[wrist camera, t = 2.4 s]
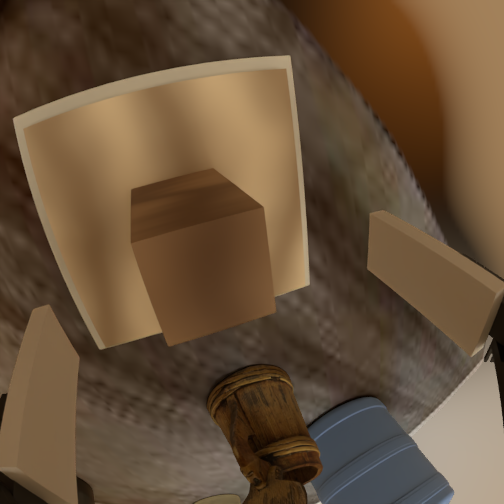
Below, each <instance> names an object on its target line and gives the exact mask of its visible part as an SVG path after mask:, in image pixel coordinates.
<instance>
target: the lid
mask: <svg viewBox="0 0 504 504" xmlns="http://www.w3.org/2000/svg"><path fill="white" fill-rule="evenodd" d="M23 130H24V135H25V139H26V144H27V148H28V152H29V156H30V160H31V164H32V168H33V171H34V175H35V178H36V182H37V185H38V189H39V192H40V195H41V198H42V201H43V205H44V208H45V211H46V214H47V217H48V219H49V222H50V225H51V228H52V231H53V233H54V236H55V239H56V241H57V244H58V247H59V249H60V252H61V254H62V257H63V259H64V262H65V264H66V266H67V269H68V271H69V274H70V276H71V278H72V280H73V283H74V285H75V287H76V289H77V292H78V294H79V296H80V298H81V300H82V302H83V304H84V307H85V309H86V311H87V313H88V315H89V317H90V319H91V321H92V323H93V325H94V327H95V329H96V330H97V332H98V334H99V336H100V338H101V340H102V342H103V344H104V345H105V347H106V348H107V347H110V346H114V345H118V344H121V343H125V342H129V341H132V340H136V339H139V338H143V337H146V336H150V335H153V334H157V333H160V332H163V335H164V337H165V340H166V342H167V344H168V347H169V346H173V345H176V344H179V343H183V342H186V341H189V340H193V339H196V338H199V337H202V336H206V335H209V334H212V333H215V332H218V331H221V330H224V329H228V328H231V327H234V326H237V325H240V324H243V323H246V322H249V321H252V320H255V319H258V318H261V317H263V316H266V315H269V314H272V313H275V312H276V305H275V296H277V295H280V294H283V293H286V292H289V291H292V290H295V289H298V288H301V287H303V286H305V268H304V250H303V234H302V220H301V206H300V193H299V181H298V170H297V159H296V149H295V139H294V129H293V120H292V111H291V102H290V94H289V85H288V78H287V70H286V69H272V70H260V71H250V72H240V73H232V74H224V75H217V76H210V77H204V78H198V79H192V80H186V81H181V82H176V83H171V84H166V85H161V86H156V87H152V88H148V89H143V90H139V91H135V92H131V93H127V94H123V95H120V96H116V97H112V98H109V99H105V100H102V101H99V102H95V103H92V104H89V105H86V106H83V107H80V108H77V109H74V110H71V111H68V112H65V113H62V114H60V115H57V116H54V117H51V118H49V119H46V120H44V121H41V122H39V123H36V124H34V125H31V126H29V127H26V128H24V129H23Z"/></svg>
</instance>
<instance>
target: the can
mask: <svg viewBox="0 0 504 504" xmlns="http://www.w3.org/2000/svg"><path fill="white" fill-rule="evenodd" d="M194 504H241V502H240V497H239V496H238V495H234V494H222V495H216V496H211V497H207V498H204V499H201V500H199V501H197V502H195V503H194Z"/></svg>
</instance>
